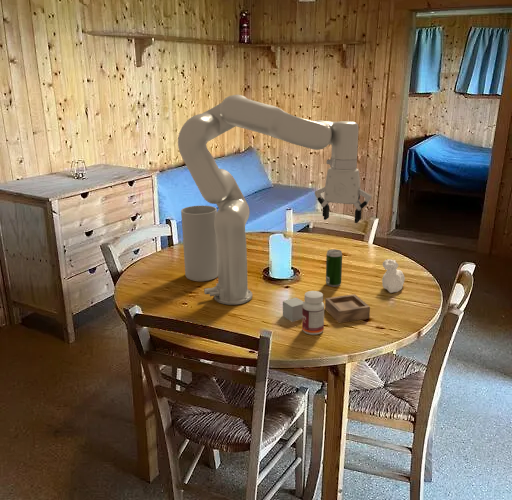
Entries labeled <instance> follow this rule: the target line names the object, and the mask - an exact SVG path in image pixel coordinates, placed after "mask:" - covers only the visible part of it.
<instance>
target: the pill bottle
mask: <svg viewBox="0 0 512 500" xmlns="http://www.w3.org/2000/svg"><path fill="white" fill-rule="evenodd" d="M323 301H324V293H322V292H321V291H318V290H310V291H309V290H308V291H306V292H305V293H304V299H303V309H302V319H301V322H302V324H301V325H302V326H301V329H302V332H303V333H305V334H307V335H313V336H314V335H315V336H316V335H320V334H321V333H323V332H324V329H325V326H324V325H325V302H323Z"/></svg>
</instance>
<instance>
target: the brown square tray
mask: <svg viewBox="0 0 512 500" xmlns="http://www.w3.org/2000/svg"><path fill="white" fill-rule="evenodd" d="M324 299H325V300H324V301H325V302H324V311H326V312H327V313H328V314H329V315H330V316H332V318H333V319H334V320H336V322H337V323H339V324H341V323H346V322H355V321H359V320H360V321H361V320H368V319H370V313H371V312H370V311H371V307H370V306H369V304H367V303H366V302H365V301H363V299H361V298H360V297H359V296H358V295H357V294H356V293H354V294H346V295H340V296H339V295H337V296H333V297H326V298H324Z"/></svg>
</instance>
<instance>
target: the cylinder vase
mask: <svg viewBox="0 0 512 500" xmlns="http://www.w3.org/2000/svg"><path fill="white" fill-rule="evenodd" d="M217 211H218V209H217V207H215V206H212V205H192V206H191V205H190V206H187V207H184V208H182V209H181V211H180V213H181V230H182V245H183V246H182V247H183V257H184V272H185V277H186V279H188V280H190V281H194V282H208V281H212V280H215V279H217V278H218V261H217V243H216V234H215V228H214V220H215V216H216V213H217Z"/></svg>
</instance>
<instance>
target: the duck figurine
mask: <svg viewBox="0 0 512 500" xmlns="http://www.w3.org/2000/svg"><path fill="white" fill-rule="evenodd" d="M396 261H397V260H396V259H391V258H390V259H384V261H383V262H382V266H383V268H384V269H385V273H384V274H383V275H382V279H381V283H382V287H383V289H385V290H387V291H388V292H389V293H390V294H392V293H399V292H400V291H401V290H402V289H403V287H404V283H405V280H406V278H405V274H404V273H403V271H402V270H401V269H398V267H399V263H398V262H396Z"/></svg>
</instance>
